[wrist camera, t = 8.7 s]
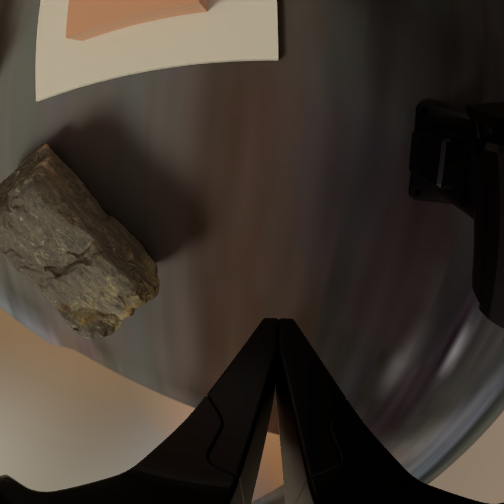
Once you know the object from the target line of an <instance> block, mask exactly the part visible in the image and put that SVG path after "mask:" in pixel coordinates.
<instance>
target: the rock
mask: <svg viewBox="0 0 504 504" xmlns="http://www.w3.org/2000/svg"><path fill="white" fill-rule="evenodd" d="M0 250H1V252H2V253H3V254H4V255H5V257H6V258H7V260H8V261H9V263H10V264H11V265H12V266H13V267H14V268H15V269H16V270H17V272H18V273H19V274H20V275H22V276H23V277H24V278H25V279H26V280H27V281H28V282H30V283H31V284H32V285H34V286H35V287H36V288H37V289H38V290H39V291H40V292H41V293H42V294H43V295H44V296H46V297H47V298H48V299H49V300H50V301H51V302H52V303H53V305H54V306H55V308H56V309H57V311H58V312H59V313H60V314H61V316H62V318H63V320H64V321H65V322H67V323H68V324H69V325H70V326H71V328H72V330H73V331H74V332H75V333H77V334H78V335H79V336H80V337H82V338H85V339H89V340H97V339H101V338H104V337H105V336H108V335H111V334H113V333H114V332H115V330H116V329H117V328H118V327H119V326H120V325H121V323H123V321H124V320H123V319H125V318H127V317H130V316H132V315H133V314H134V312H135V309H136V308H138V307H139V306H140V305H143V304H146V303H147V301H148V300H151V299H153V298H154V297H156V296H157V295H158V292H159V286H160V281H159V278H158V275H157V272H158V271H157V265H156V263H155V262H154V261H153V260H152V259H151V257H150V256H149V255H148V253H147V252H146V250H145V249H144V247H143V245H142V244H141V243H140V241H139V240H137V239H136V238H135V237H134V236H133V235H132V234H131V233H130V232H129V231H128V230H127V229H126V228H125V227H124V226H123V225H122V224H121V223H120V222H119V221H117V220H116V219H115V218H114V217H112V216H109V215H107V214H106V213H105V212H104V211H103V209H102V208H101V207H100V204H99V203H98V201H97V200H96V199H95V197H94V196H93V195H92V194H91V193H90V192H89V191H88V189H87V188H86V187H85V185H84V183H83V182H82V181H81V180H80V179H79V177H78V176H77V175H76V174H75V173H74V172H73V171H72V170H71V169H70V168H69V167H68V166H67V165H66V164H65V163H64V162H63V161H62V160H61V159H60V158H59V157H58V156H57V154H55V153H54V152H53V151H52V149H51V148H50V147H49V145H48V144H44V145H43V146H41V147H40V148H38V149H37V150H36V151H35V152H34V154H33V155H31V156H30V157H28V158H25V159H24V160H23V162H22V163H21V164H20V165H19V167H18V168H17V169H16V170H15V171H14V172H13V173H12V174H11V175H10V176H9V177H8V178H7V179H6V180H3V182H2V183H1V184H0Z"/></svg>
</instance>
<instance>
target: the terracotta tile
mask: <svg viewBox="0 0 504 504" xmlns="http://www.w3.org/2000/svg"><path fill="white" fill-rule="evenodd" d="M202 12H207V0H69V4H68V13H67V25H66V38H68V39H74V40H79V41H84V40H87V39H90V38H93V37H96V36H99V35H102V34H105V33H108V32H112V31H115V30H119V29H122V28H126V27H129V26H133V25H137V24H141V23H146V22H150V21H155V20H160V19H165V18H170V17H175V16H181V15H188V14H195V13H202Z"/></svg>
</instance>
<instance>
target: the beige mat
mask: <svg viewBox="0 0 504 504" xmlns="http://www.w3.org/2000/svg"><path fill="white" fill-rule="evenodd" d="M68 4H69V0H41V3H40V10H39V19H38V29H37V42H36V101H41V100H44V99H47V98H50V97H52V96H55V95H58V94H61V93H64V92H67V91H70V90H74V89H77V88H80V87H84V86H87V85H91V84H94V83H98V82H102V81H106V80H110V79H114V78H118V77H123V76H127V75H132V74H137V73H142V72H147V71H153V70H159V69H165V68H172V67H179V66H187V65H196V64H206V63H218V62H233V61H278V17H277V0H207V12H202V13H195V14H188V15H181V16H175V17H170V18H165V19H160V20H155V21H150V22H146V23H141V24H137V25H133V26H129V27H126V28H122V29H119V30H115V31H112V32H108V33H105V34H102V35H99V36H96V37H93V38H90V39H87V40H84V41H79V40H74V39H68V38H66V25H67V13H68Z"/></svg>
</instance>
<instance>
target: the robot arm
mask: <svg viewBox="0 0 504 504" xmlns="http://www.w3.org/2000/svg"><path fill="white" fill-rule="evenodd" d="M423 107H424V108H425V110H426V113H425V114H423V113H422V108H423ZM466 110H467V114H465V113H461V112H458V111H454V110H450V109H446V108H442V107H438V106H434V105H430V104H424V103H420V104H418V105H417V107H416V119H415V131H414V132H413V133H412V142H411V153H410V164H409V170H410V171H411V177H410V184H409V195H410V197H412V198H413V199H414V200H420V201H430V202H440V203H449V204H454V205H455V206H456V207H458V208H459V209H461V210H462V211H463V212H465V213H466V214H467V215H469V216H470V217H471V218H473V219H474V255H473V272H472V288H473V290H474V293H475V295H476V297H477V300H478V301H479V303H480V306H479V309H480V311H481V312H482V313H483V314H484V315H485V316H486V317H487V318H488V319H489V320H491V321H492V322H494V323H495V324H497V325H498V326H500V327H502V328H504V102H494V103H484V104H474V105H466ZM417 189H418V193H417V194H416V195H414V191H415V190H417ZM275 384H276V402H277V413H278V423H279V434H280V445H281V456H282V467H283V480H284V491H285V503H286V504H488V503H483V502H479V501H475V500H472V499H468V498H465V497H462V496H459V495H456V494H453V493H450V492H447V491H444V490H441V489H438V488H436V487H433V486H430V485H427V484H425V483H423V482H421V481H419V480H418V479H416V478H415V477H413V476H412V475H411V474H410V473H408V472H407V471H406V470H405V469H404V468H403V467H402V465H401V464H400V463H399V462H398V461H397V460H396V459H395V458H394V457H393V456H392V455H391V454H390V452H389V451H388V450H387V449H386V448H385V447H384V446H383V445H382V444H381V443H380V441H379V440H378V439H377V438H376V437H375V436H374V435H373V433H372V432H371V431H370V430H369V429H368V428H367V426H366V425H365V424H364V423H363V421H362V420H361V419H360V417H359V416H358V414H357V413H356V412H355V410H354V409H353V407H352V406H351V404H350V403H349V401H348V400H346V397H345V396H344V394H343V393H342V391H341V390H340V388H339V387H338V385H337V384H336V382H335V381H334V379H333V378H332V376H331V375H330V373H329V372H328V370H327V369H326V367H325V366H324V364H323V363H322V361H321V360H320V358H319V357H318V355H317V354H316V352H315V351H314V349H313V348H312V346H311V345H310V343H309V342H308V340H307V339H306V337H305V336H304V334H303V333H302V331H301V330H300V328H299V327H298V325H297V324H296V322H295V321H294V320H293V319H287V318H281V319H279V321H278V319H277V318H264V319H263V320H262V321H261V323H260V324H259V325H258V327H257V328H256V330H255V331H254V332H253V334H252V335H251V336H250V338H249V339H248V341H247V342H246V343H245V345H244V346H243V347H242V349H241V350H240V351H239V353H238V354H237V355H236V357H235V358H234V359H233V361H232V362H231V363H230V365H229V366H228V367H227V369H226V370H225V371H224V373H223V374H222V375H221V377H220V378H219V379H218V381H217V382H216V383H215V385H214V386H213V387H212V388H211V390H210V391H209V392H208V394H207V396H205V397H204V399H203V400H202V401H201V402H200V404H199V405H198V406H197V407H196V408H195V410H194V411H193V412H192V413H191V414H190V415H189V417H188V418H187V419H186V420H185V421H184V422H183V423H182V424H181V425H180V426H179V427H178V428H177V429H176V430H175V431H174V432H173V433H172V434H171V435H170V436H169V437H167V438H166V439H165V440H164V441H163V442H162V443H161V444H160V445H159V446H157V447H156V448H155V449H154V450H153V451H152V452H151V453H150V454H149V455H147V456H146V457H145V458H144V459H143V460H142V461H140V462H139V463H138V464H137V465H135V466H134V467H132V468H131V469H130V470H127V471H126V472H124V473H121V474H119V475H116V476H113V477H110V478H107V479H103V480H100V481H96V482H92V483H89V484H85V485H81V486H77V487H73V488H68V489H63V490H58V491H52V492H39V491H35V490H31V489H28V488H26V487H25V486H23V485H22V484H20V483H19V482H17V481H16V480H14V479H13V478H11V477H10V476H8V475H2V476H0V504H251V501H252V497H253V492H254V488H255V484H256V480H257V475H258V471H259V467H260V462H261V458H262V453H263V449H264V444H265V439H266V434H267V430H268V425H269V420H270V415H271V410H272V405H273V399H274V393H275ZM499 504H504V503H499Z"/></svg>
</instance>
